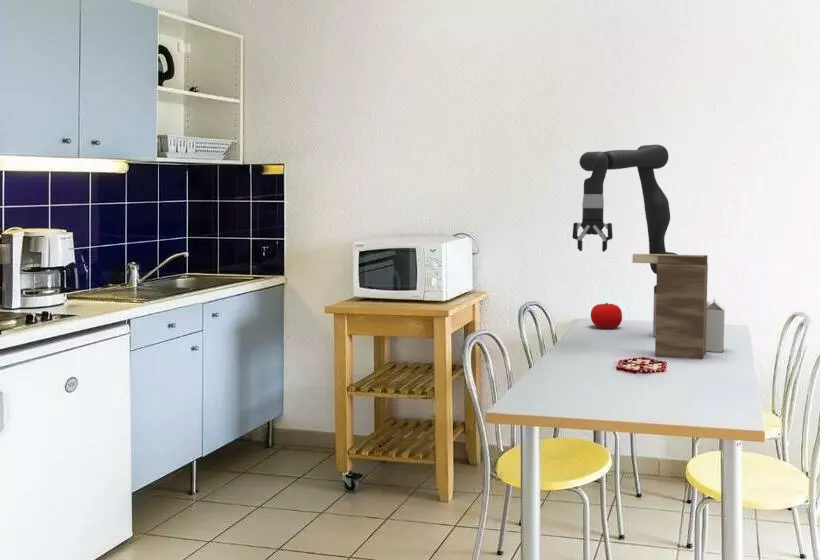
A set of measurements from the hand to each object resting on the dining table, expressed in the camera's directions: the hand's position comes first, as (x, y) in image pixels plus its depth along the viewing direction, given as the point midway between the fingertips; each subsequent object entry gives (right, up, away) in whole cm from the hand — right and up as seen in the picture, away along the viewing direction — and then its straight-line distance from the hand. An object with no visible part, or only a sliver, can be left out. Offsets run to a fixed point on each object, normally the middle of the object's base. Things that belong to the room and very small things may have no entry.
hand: (592, 251), depth 363 cm
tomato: (+15, -31, +50) cm, 61 cm away
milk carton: (+43, -36, -5) cm, 56 cm away
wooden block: (+24, -5, -15) cm, 29 cm away
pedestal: (+29, -37, -14) cm, 49 cm away
